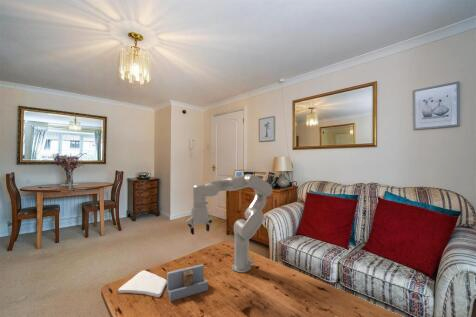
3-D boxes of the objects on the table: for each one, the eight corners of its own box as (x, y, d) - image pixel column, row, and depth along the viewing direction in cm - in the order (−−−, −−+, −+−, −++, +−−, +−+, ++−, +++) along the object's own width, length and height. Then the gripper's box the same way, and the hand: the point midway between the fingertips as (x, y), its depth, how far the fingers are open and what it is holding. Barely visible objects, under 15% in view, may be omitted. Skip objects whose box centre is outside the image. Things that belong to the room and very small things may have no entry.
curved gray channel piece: (202, 281, 122) (202, 264, 123) (207, 290, 114) (208, 271, 114) (167, 290, 113) (167, 272, 113) (170, 301, 105) (170, 281, 105)
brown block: (190, 283, 116) (191, 269, 117) (193, 289, 111) (193, 274, 111) (182, 285, 114) (182, 271, 115) (185, 291, 109) (185, 276, 109)
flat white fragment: (116, 296, 111) (158, 300, 106) (116, 289, 111) (158, 294, 106) (142, 273, 132) (178, 276, 127) (141, 268, 132) (178, 271, 127)
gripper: (210, 202, 136) (210, 228, 136) (184, 205, 128) (184, 233, 128) (214, 204, 130) (215, 231, 130) (187, 207, 121) (188, 237, 121)
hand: (200, 232), depth 129 cm, fingers open, 9 cm apart
